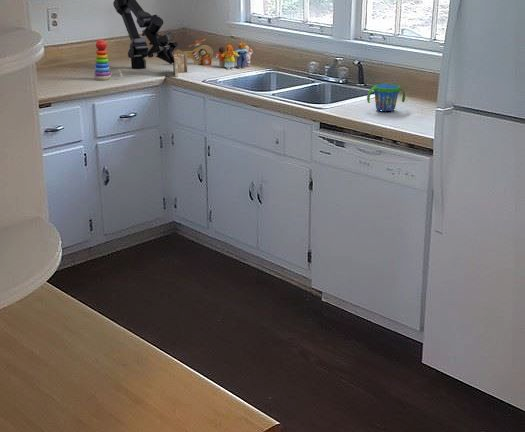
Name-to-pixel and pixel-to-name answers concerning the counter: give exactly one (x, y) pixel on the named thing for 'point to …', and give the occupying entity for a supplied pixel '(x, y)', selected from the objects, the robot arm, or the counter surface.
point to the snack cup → (386, 96)
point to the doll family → (229, 60)
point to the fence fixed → (182, 62)
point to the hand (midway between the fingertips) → (172, 63)
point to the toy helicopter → (195, 56)
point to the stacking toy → (101, 62)
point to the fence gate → (175, 64)
